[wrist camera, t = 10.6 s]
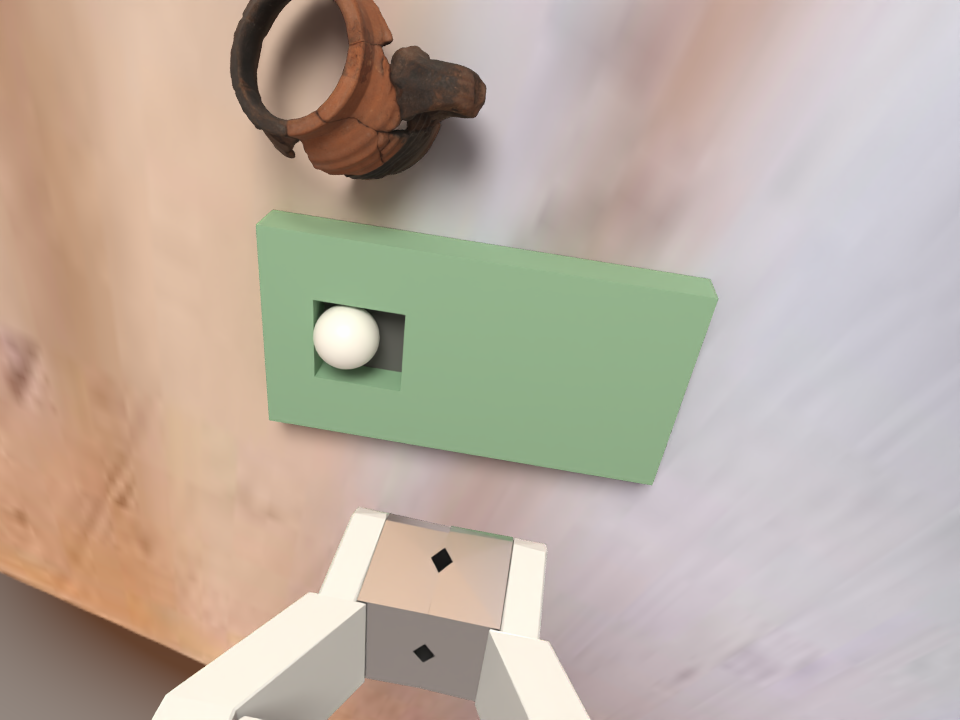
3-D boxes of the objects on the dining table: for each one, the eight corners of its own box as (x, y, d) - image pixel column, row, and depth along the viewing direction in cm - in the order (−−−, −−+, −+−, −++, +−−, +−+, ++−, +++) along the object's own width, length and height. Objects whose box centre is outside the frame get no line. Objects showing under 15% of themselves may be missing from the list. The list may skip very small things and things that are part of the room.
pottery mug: (319, 190, 39) (212, 163, 31) (323, 21, 38) (214, -48, 30) (511, 188, 34) (441, 157, 27) (521, -3, 33) (452, -92, 26)
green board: (710, 279, 38) (718, 298, 36) (648, 460, 46) (652, 485, 44) (272, 209, 39) (255, 224, 37) (282, 398, 47) (269, 420, 45)
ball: (401, 321, 41) (354, 307, 38) (380, 382, 41) (331, 373, 38) (359, 304, 43) (312, 290, 40) (339, 362, 44) (291, 352, 40)
